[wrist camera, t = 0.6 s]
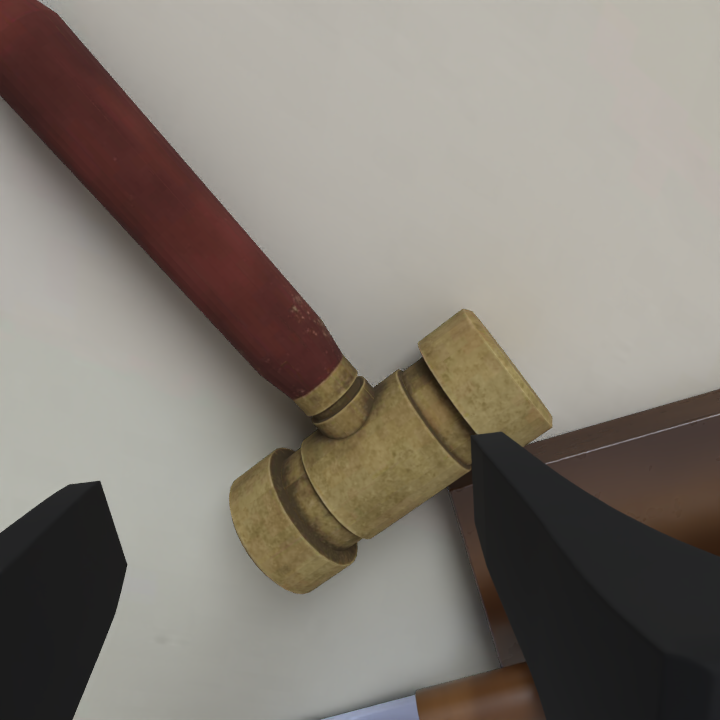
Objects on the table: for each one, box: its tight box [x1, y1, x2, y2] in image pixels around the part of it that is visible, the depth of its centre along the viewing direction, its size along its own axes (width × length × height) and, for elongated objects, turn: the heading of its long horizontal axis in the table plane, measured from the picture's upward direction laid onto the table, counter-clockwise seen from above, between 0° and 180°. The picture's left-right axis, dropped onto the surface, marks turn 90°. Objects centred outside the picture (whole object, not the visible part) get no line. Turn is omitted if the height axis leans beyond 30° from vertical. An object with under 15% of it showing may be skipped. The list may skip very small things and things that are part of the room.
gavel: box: [0, 0, 552, 594], centre depth 18 cm, size 21×5×10 cm
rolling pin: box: [415, 660, 546, 720], centre depth 23 cm, size 5×21×5 cm, turn 107°
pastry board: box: [447, 389, 720, 668], centre depth 25 cm, size 12×14×2 cm
